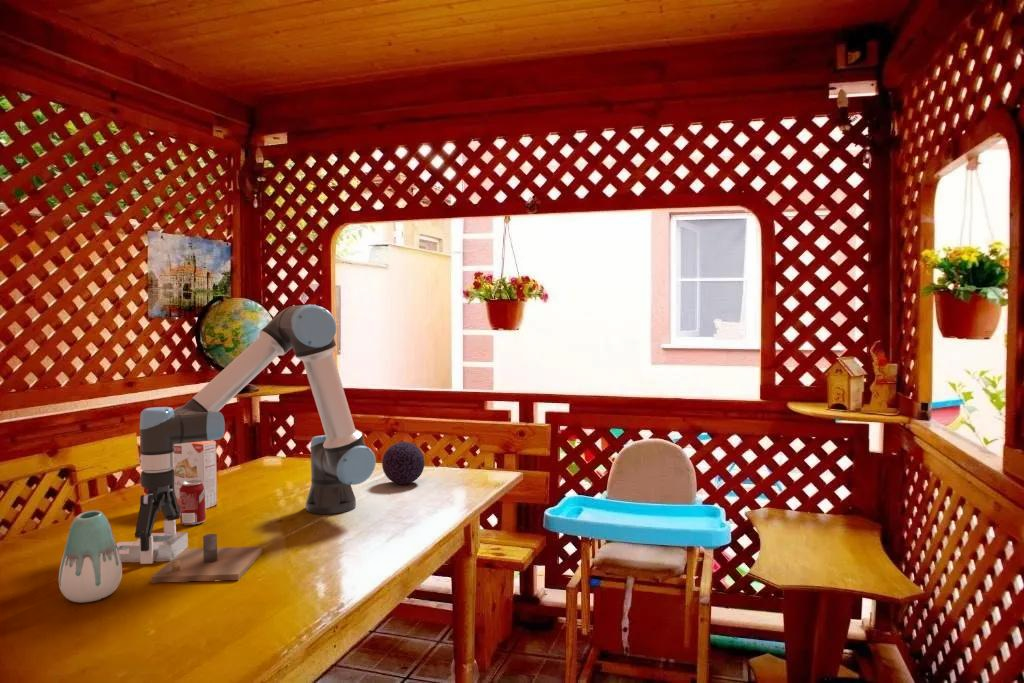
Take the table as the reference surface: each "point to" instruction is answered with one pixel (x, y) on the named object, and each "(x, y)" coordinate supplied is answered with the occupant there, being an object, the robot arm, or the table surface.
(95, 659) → the table surface
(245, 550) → the post base
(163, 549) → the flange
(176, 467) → the cracker box
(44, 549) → the table surface
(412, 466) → the toy ball
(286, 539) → the table surface
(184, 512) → the soda can
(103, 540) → the vase
